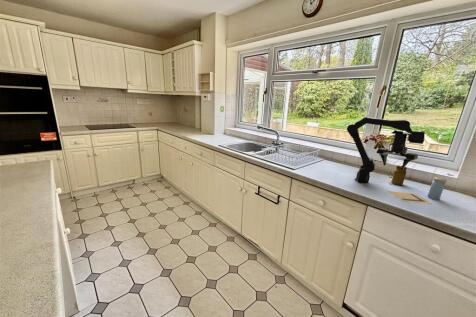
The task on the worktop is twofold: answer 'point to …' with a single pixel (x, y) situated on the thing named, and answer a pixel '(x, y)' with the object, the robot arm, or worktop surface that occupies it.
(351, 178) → the worktop surface
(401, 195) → the card
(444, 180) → the canister
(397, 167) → the condiment
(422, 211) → the worktop surface
